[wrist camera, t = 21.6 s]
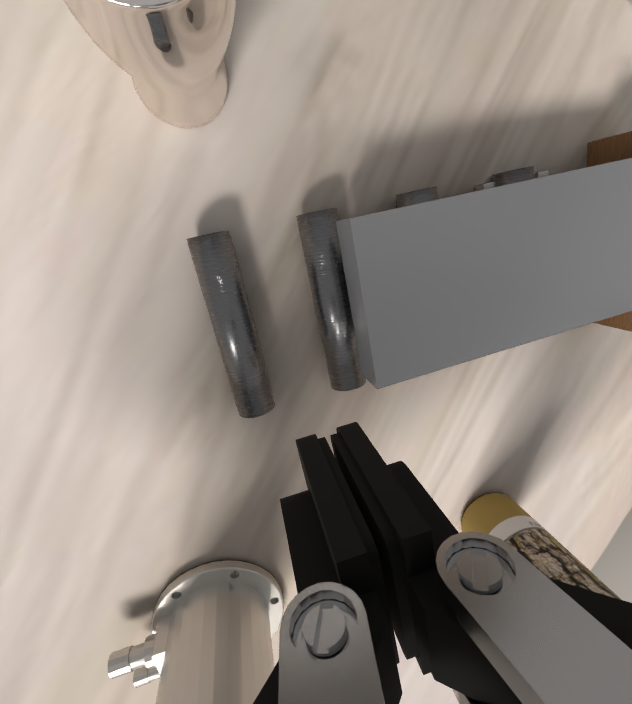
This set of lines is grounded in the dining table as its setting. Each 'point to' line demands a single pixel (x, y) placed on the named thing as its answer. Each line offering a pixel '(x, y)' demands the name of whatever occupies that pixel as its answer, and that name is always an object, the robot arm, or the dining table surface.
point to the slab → (487, 269)
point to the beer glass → (166, 51)
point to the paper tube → (529, 540)
